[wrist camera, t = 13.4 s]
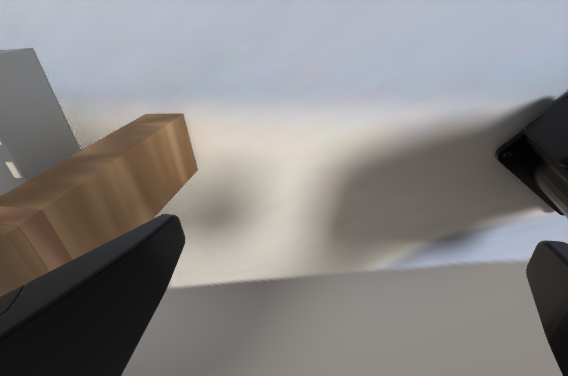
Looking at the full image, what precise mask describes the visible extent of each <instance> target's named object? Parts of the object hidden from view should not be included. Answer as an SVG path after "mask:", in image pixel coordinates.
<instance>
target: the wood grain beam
mask: <svg viewBox="0 0 568 376" xmlns="http://www.w3.org/2000/svg"><path fill="white" fill-rule="evenodd" d="M197 170H198V169H197V165H196V162H195V158H194V154H193V150H192V146H191V142H190V138H189V134H188V131H187V127H186V123H185V119H184V115H183V114H145V115H143V116H142V117H140V118H138V119H136V120H134V121H133V122H131V123H129V124H127V125H126V126H124V127H122V128H120V129H118V130H117V131H115V132H113V133H111V134H110V135H108V136H106V137H104V138H103V139H101V140H99V141H97V142H95V143H94V144H92V145H90V146H88V147H87V148H85V149H83V150H81V151H79V152H78V153H76V154H74V155H72V156H71V157H69V158H67V159H65V160H64V161H62V162H60V163H58V164H56V165H55V166H53V167H51V168H49V169H48V170H46V171H44V172H42V173H40V174H39V175H37V176H35V177H33V178H32V179H30V180H28V181H26V182H25V183H23V184H21V185H19V186H17V187H16V188H14V189H12V190H10V191H9V192H7V193H5V194H3V195H1V196H0V296H2V295H4V294H6V293H8V292H10V291H12V290H14V289H16V288H18V287H20V286H22V285H26V284H27V283H28V282H30V281H32V280H34V279H36V278H38V277H40V276H42V275H44V274H46V273H48V272H50V271H52V270H54V269H56V268H58V267H60V266H61V265H63V264H65V263H67V262H69V261H71V260H73V259H75V258H77V257H79V256H81V255H83V254H85V253H87V252H89V251H91V250H93V249H95V248H97V247H99V246H101V245H103V244H105V243H107V242H109V241H111V240H113V239H115V238H117V237H119V236H121V235H123V234H125V233H127V232H129V231H131V230H133V229H134V228H136V227H138V226H140V225H142V224H144V223H146V222H148V221H150V220H152V219H153V218H154V217H155V216H156V215H157V214H158V213H159V212H160V210H161V209H162V208H163V207H164V206H165V205H166V204H167V203H168V202H169V201H170V200H171V198H172V197H173V196H174V195H175V194H176V193H177V192H178V191H179V190H180V189H181V188H182V187H183V185H184V184H185V183H186V182H187V181H188V180H189V179H190V178H191V177H192V176H193V175H194V174H195V172H196V171H197Z"/></svg>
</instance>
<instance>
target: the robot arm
mask: <svg viewBox="0 0 568 376" xmlns="http://www.w3.org/2000/svg"><path fill="white" fill-rule="evenodd" d="M506 152H510V154H509V155H508V156H506V157H503V154H504V153H506ZM495 156H496V158H497V159H498V161H499V162H500V163H502V164H503V165H504V166H505V167H506V168H507V169H508V170H510V171H511V172H512V173H513V174H514V175H515V176H516V177H517V178H519V179H520V180H521V181H522V182H523V183H524V184H525V185H527V186H528V187H529V188H530V189H531V190H532V191H533V192H535V193H536V194H537V195H538V196H539V197H540V198H541V199H543V200H544V201H545V202H546V203H547V204H548V205H549V206H551V207H552V208H553V209H554V210H555V211H556V212H557V213H559V214H560V215H565V216H566V217H567V218H568V96H567V97H566V98H565V99H563V100H562V101H560V102H559V103H558V104H556V105H555V106H554V107H552V108H551V109H549V110H548V111H547V112H545V113H544V114H543V115H541V116H540V117H539V118H537V119H536V120H534V121H533V122H532V123H530V124H529V125H528V126H526V127H525V129H524V130H523V131H522V132H521V133H519V134H518V135H516V136H515V137H514V138H512V139H511V140H510V141H508V142H507V143H505V144H504V145H503V146H501V147H500V148H499V149H498V150H497V151H496V153H495ZM184 244H185V235H184V232H183V229H182V226H181V223H180V220H179V218H178V217H177V216H176V215H170V214H163V215H160V216H158V217H156V218H154V219H152V220H150V221H148V222H146V223H144V224H142V225H140V226H138V227H136V228H134V229H133V230H131V231H129V232H127V233H125V234H123V235H121V236H119V237H117V238H115V239H113V240H111V241H109V242H107V243H105V244H103V245H101V246H99V247H97V248H95V249H93V250H91V251H89V252H87V253H85V254H83V255H81V256H79V257H77V258H75V259H73V260H71V261H69V262H67V263H65V264H63V265H61V266H60V267H58V268H56V269H54V270H52V271H50V272H48V273H46V274H44V275H42V276H40V277H38V278H36V279H34V280H32V281H30V282H28V283H27V284H26V285H22V286H20V287H18V288H16V289H14V290H12V291H10V292H8V293H6V294H4V295H2V296H0V376H121V375H122V373H123V371H124V369H125V367H126V365H127V363H128V362H129V360H130V358H131V356H132V354H133V352H134V350H135V348H136V347H137V345H138V343H139V341H140V339H141V337H142V335H143V333H144V331H145V329H146V328H147V326H148V324H149V322H150V320H151V318H152V316H153V314H154V312H155V311H156V309H157V307H158V305H159V303H160V301H161V299H162V297H163V295H164V293H165V291H166V289H167V287H168V284H169V282H170V279H171V277H172V274H173V272H174V269H175V267H176V265H177V262H178V260H179V257H180V255H181V252H182V250H183V247H184ZM526 274H527V279H528V282H529V285H530V288H531V291H532V294H533V298H534V300H535V304H536V307H537V310H538V313H539V316H540V319H541V322H542V326H543V329H544V332H545V334H546V337H547V340H548V343H549V345H550V347H551V350H552V352H553V354H554V357H555V359H556V361H557V363H558V366H559V368H560V370H561V372H562V374H563V376H568V244H567V243H564V242H558V241H541V242H539V243H538V245H537V246H536V248H535V250H534V252H533V255H532V257H531V259H530V261H529V263H528V265H527V269H526Z"/></svg>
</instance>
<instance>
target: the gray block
mask: <svg viewBox="0 0 568 376" xmlns="http://www.w3.org/2000/svg"><path fill="white" fill-rule="evenodd" d="M79 151H81V150H80V148H79V146H78V144H77V142H76V140H75V137H74V135H73V133H72V131H71V129H70V127H69V125H68V123H67V120H66V118H65V116H64V114H63V112H62V110H61V108H60V105H59V103H58V101H57V99H56V97H55V95H54V93H53V91H52V88H51V86H50V84H49V82H48V80H47V78H46V76H45V74H44V71H43V69H42V67H41V65H40V63H39V61H38V59H37V56H36V54H35V52H34V50H33V48H26V49H12V50H0V196H1V195H3V194H5V193H7V192H9V191H10V190H12V189H14V188H16V187H17V186H19V185H21V184H23V183H25V182H26V181H28V180H30V179H32V178H33V177H35V176H37V175H39V174H40V173H42V172H44V171H46V170H48V169H49V168H51V167H53V166H55V165H56V164H58V163H60V162H62V161H64V160H65V159H67V158H69V157H71V156H72V155H74V154H76V153H78V152H79Z"/></svg>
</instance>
